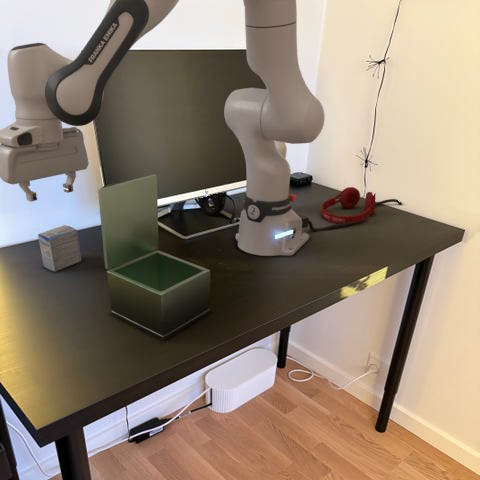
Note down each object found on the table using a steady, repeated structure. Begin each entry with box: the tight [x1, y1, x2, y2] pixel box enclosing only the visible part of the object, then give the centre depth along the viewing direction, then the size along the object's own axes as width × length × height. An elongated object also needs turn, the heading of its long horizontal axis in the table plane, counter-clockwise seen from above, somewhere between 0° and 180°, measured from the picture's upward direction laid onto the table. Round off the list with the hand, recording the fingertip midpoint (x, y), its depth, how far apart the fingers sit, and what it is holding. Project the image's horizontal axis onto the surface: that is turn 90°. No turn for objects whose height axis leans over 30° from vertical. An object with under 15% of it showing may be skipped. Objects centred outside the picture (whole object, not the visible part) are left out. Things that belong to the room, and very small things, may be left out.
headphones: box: [321, 186, 376, 224], centre depth 157 cm, size 15×7×20 cm
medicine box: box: [37, 224, 82, 273], centre depth 116 cm, size 8×4×9 cm, turn 145°
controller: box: [197, 191, 228, 216], centre depth 151 cm, size 4×12×10 cm, turn 53°
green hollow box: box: [106, 249, 211, 341], centre depth 98 cm, size 15×14×10 cm
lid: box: [97, 174, 160, 270], centre depth 95 cm, size 16×14×5 cm
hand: (51, 196), depth 109 cm, fingers open, 8 cm apart
